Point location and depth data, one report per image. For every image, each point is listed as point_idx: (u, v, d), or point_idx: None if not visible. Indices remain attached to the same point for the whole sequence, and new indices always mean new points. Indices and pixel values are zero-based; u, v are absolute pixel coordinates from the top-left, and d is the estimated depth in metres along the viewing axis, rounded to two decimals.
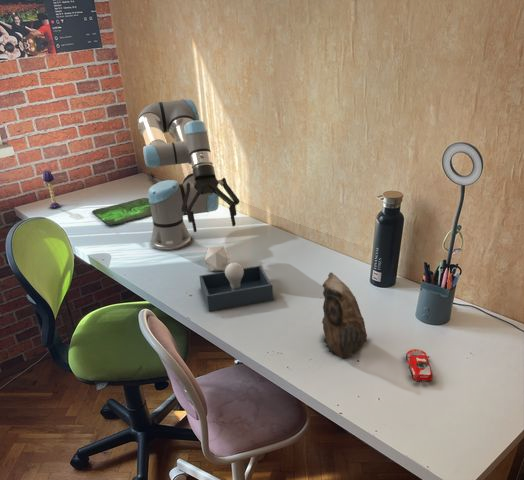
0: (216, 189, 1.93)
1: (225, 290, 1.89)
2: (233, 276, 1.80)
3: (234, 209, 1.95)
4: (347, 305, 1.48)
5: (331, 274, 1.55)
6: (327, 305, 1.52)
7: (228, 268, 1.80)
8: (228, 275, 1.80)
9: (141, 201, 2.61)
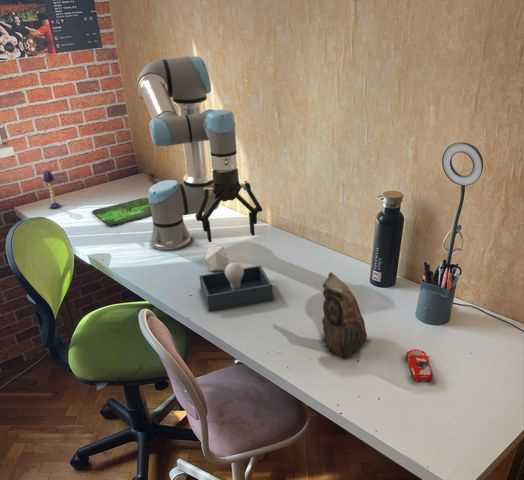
0: (238, 197, 1.67)
1: (225, 290, 1.89)
2: (233, 276, 1.80)
3: (255, 218, 1.73)
4: (347, 305, 1.48)
5: (331, 274, 1.55)
6: (327, 305, 1.52)
7: (228, 268, 1.80)
8: (228, 275, 1.80)
9: (141, 201, 2.61)
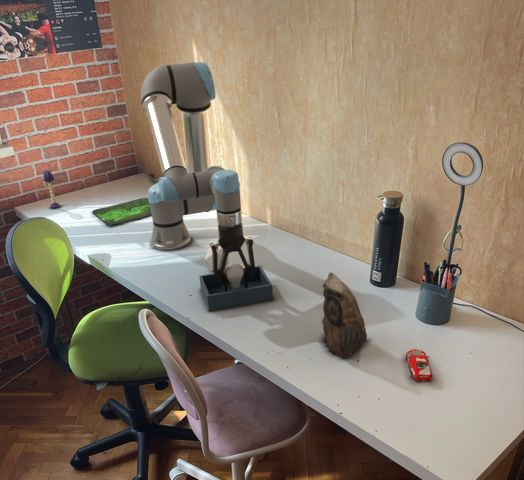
0: (239, 251, 1.77)
1: None
2: (233, 276, 1.80)
3: (248, 273, 1.83)
4: (347, 305, 1.48)
5: (331, 274, 1.55)
6: (327, 305, 1.52)
7: (228, 268, 1.80)
8: (228, 275, 1.80)
9: (141, 201, 2.61)
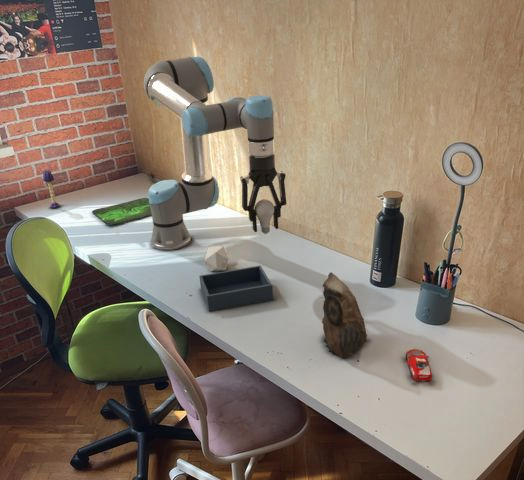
0: (271, 185, 1.69)
1: (225, 290, 1.89)
2: (263, 212, 1.72)
3: (279, 211, 1.75)
4: (347, 305, 1.48)
5: (331, 274, 1.55)
6: (327, 305, 1.52)
7: (258, 204, 1.72)
8: (258, 212, 1.72)
9: (141, 201, 2.60)
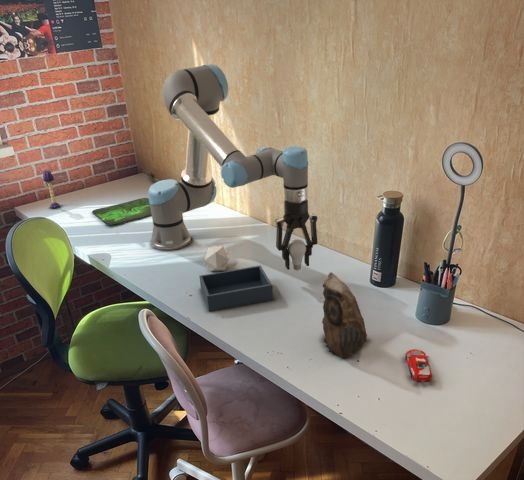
0: (303, 227, 1.81)
1: (225, 290, 1.89)
2: (296, 252, 1.84)
3: (310, 250, 1.87)
4: (347, 305, 1.48)
5: (331, 274, 1.55)
6: (327, 305, 1.52)
7: (291, 244, 1.84)
8: (291, 251, 1.84)
9: (141, 201, 2.61)
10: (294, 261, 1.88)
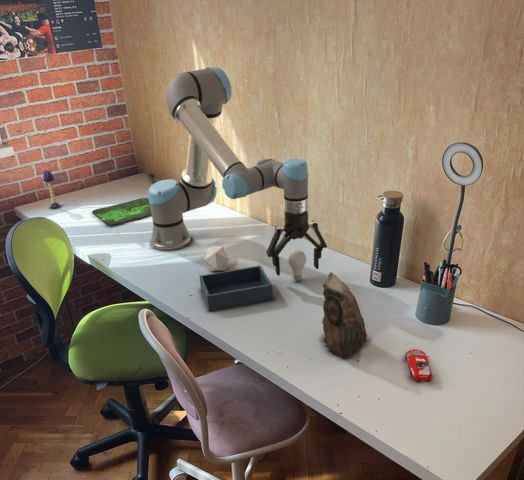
0: (306, 236, 1.83)
1: (225, 290, 1.89)
2: (296, 263, 1.86)
3: (320, 253, 1.89)
4: (347, 305, 1.48)
5: (331, 274, 1.55)
6: (327, 305, 1.52)
7: (292, 255, 1.86)
8: (292, 262, 1.87)
9: (141, 201, 2.60)
10: (294, 272, 1.90)
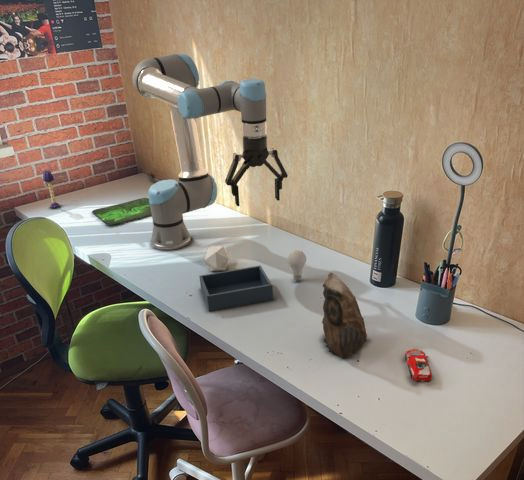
0: (266, 163, 1.78)
1: (225, 290, 1.89)
2: (296, 263, 1.86)
3: (280, 183, 1.84)
4: (347, 305, 1.48)
5: (331, 274, 1.55)
6: (327, 305, 1.52)
7: (292, 255, 1.86)
8: (292, 262, 1.87)
9: (141, 201, 2.61)
10: (294, 272, 1.90)
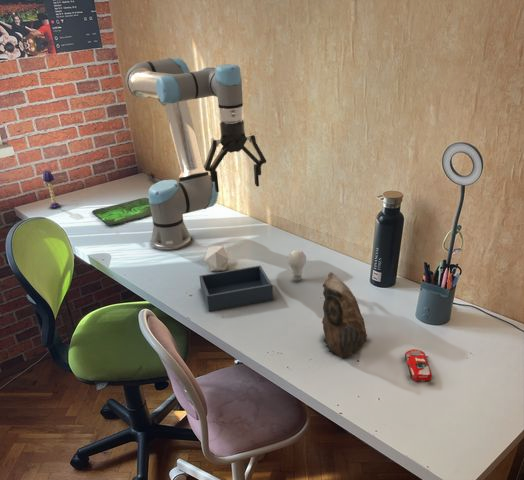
0: (244, 149, 1.79)
1: (225, 290, 1.89)
2: (296, 263, 1.86)
3: (259, 169, 1.85)
4: (347, 305, 1.48)
5: (331, 274, 1.55)
6: (327, 305, 1.52)
7: (292, 255, 1.86)
8: (292, 262, 1.87)
9: (141, 201, 2.60)
10: (294, 272, 1.90)
